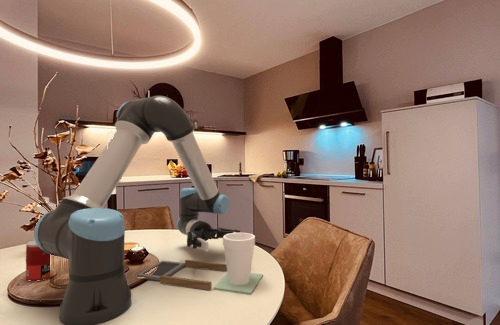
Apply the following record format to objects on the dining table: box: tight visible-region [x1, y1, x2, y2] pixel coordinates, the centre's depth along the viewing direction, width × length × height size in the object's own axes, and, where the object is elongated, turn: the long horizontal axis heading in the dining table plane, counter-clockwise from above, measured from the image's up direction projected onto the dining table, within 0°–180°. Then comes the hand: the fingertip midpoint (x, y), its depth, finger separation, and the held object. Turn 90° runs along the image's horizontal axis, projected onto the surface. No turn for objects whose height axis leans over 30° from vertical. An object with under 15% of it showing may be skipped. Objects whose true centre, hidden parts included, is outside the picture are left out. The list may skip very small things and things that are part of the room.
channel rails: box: [159, 259, 227, 291], centre depth 85 cm, size 15×16×2 cm
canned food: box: [25, 239, 51, 282], centre depth 85 cm, size 8×8×11 cm
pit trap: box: [136, 260, 186, 283], centre depth 88 cm, size 13×9×1 cm
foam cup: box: [222, 232, 256, 285], centre depth 81 cm, size 10×9×13 cm
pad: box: [212, 272, 264, 296], centre depth 81 cm, size 13×11×1 cm
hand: (226, 243), depth 87 cm, fingers open, 13 cm apart
